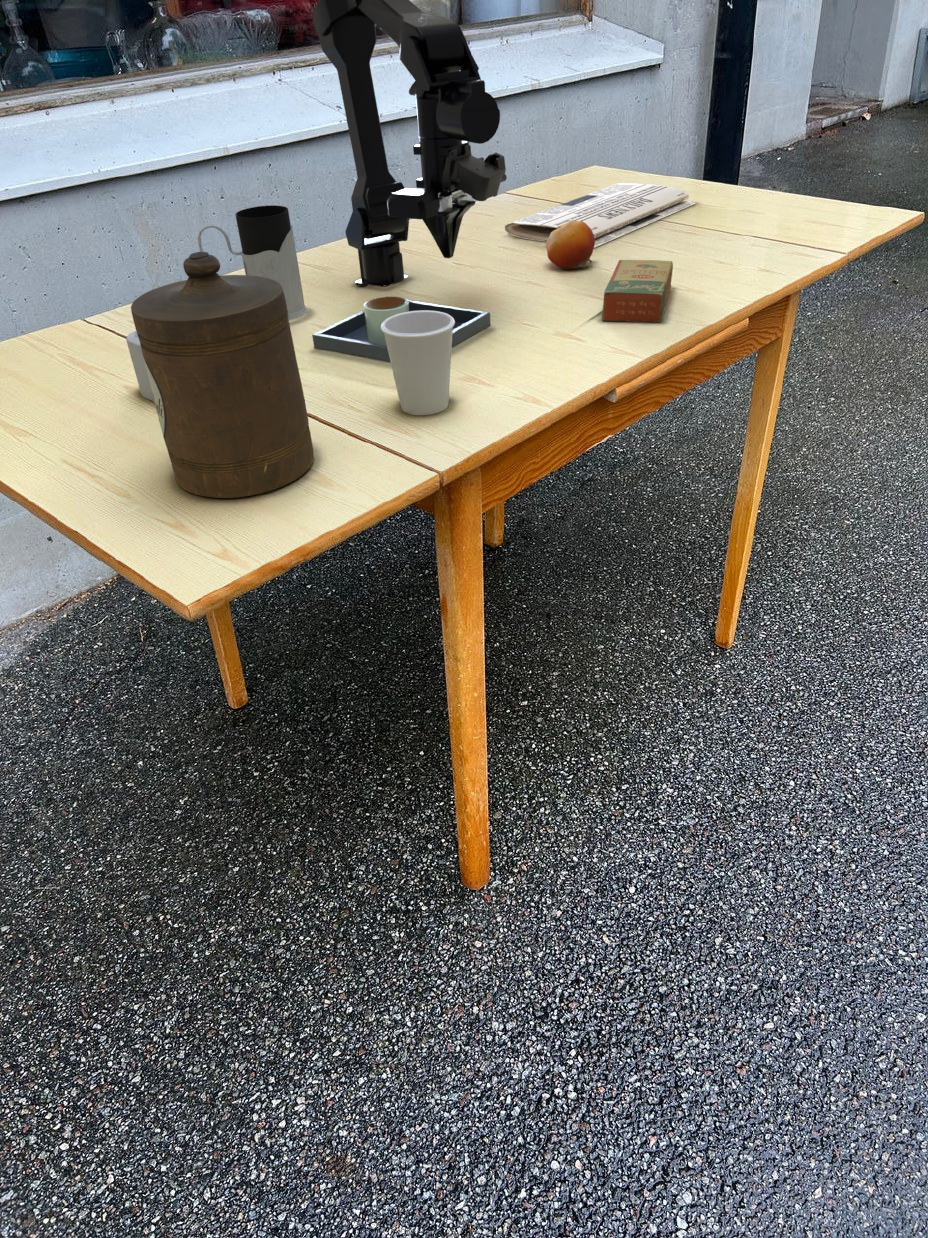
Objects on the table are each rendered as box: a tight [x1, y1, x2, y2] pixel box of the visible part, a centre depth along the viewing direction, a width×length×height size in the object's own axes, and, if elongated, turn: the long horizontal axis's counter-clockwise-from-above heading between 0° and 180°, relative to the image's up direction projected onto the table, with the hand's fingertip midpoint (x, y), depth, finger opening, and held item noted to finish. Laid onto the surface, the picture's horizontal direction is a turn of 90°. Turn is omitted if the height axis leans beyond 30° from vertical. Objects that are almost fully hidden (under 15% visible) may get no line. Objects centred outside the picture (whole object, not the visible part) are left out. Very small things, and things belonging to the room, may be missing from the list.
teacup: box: [363, 296, 410, 346], centre depth 125 cm, size 7×6×6 cm
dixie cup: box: [381, 310, 455, 416], centre depth 107 cm, size 8×8×10 cm
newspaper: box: [504, 182, 697, 249], centre depth 177 cm, size 37×19×3 cm, turn 140°
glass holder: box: [197, 204, 309, 322], centre depth 136 cm, size 9×14×15 cm, turn 94°
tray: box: [311, 299, 492, 364], centre depth 128 cm, size 18×18×2 cm
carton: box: [601, 259, 674, 323], centre depth 135 cm, size 8×16×4 cm, turn 165°
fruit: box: [545, 221, 595, 271], centre depth 152 cm, size 8×8×8 cm
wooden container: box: [130, 251, 315, 499], centre depth 93 cm, size 15×15×22 cm
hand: (448, 257), depth 132 cm, fingers closed
